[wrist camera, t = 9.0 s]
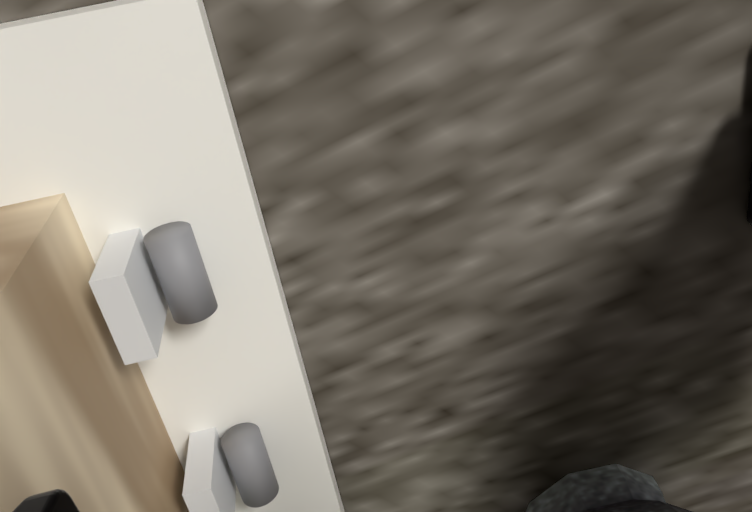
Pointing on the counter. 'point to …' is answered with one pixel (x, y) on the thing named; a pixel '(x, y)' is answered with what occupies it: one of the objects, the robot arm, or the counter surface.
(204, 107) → the hinge base
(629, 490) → the mortar and pestle
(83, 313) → the door panel
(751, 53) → the counter surface
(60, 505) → the robot arm
